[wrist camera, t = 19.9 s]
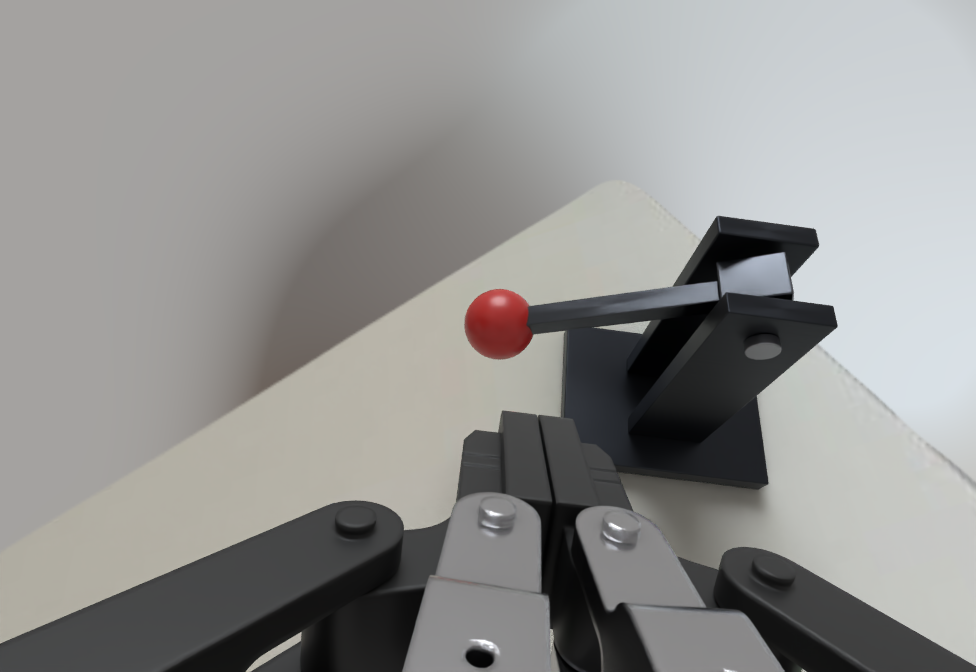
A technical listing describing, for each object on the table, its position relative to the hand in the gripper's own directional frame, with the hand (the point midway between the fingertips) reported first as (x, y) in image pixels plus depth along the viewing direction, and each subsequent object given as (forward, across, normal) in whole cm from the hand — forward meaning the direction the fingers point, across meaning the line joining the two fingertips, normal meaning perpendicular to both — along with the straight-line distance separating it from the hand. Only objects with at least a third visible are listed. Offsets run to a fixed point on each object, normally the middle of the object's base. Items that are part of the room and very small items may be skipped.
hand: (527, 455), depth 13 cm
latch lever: (+18, -6, +1) cm, 19 cm away
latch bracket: (+24, -10, +7) cm, 27 cm away
